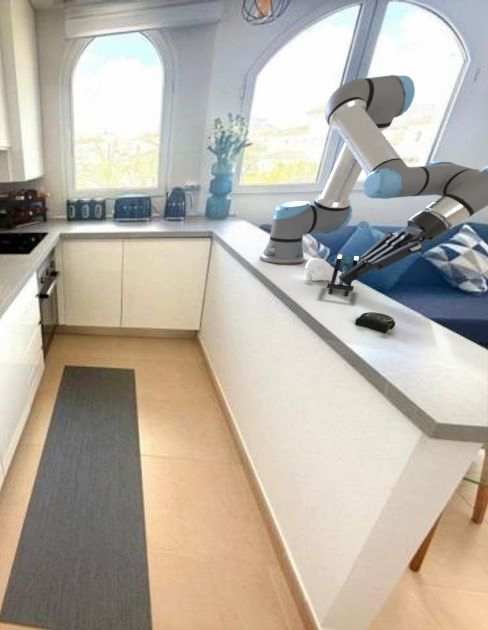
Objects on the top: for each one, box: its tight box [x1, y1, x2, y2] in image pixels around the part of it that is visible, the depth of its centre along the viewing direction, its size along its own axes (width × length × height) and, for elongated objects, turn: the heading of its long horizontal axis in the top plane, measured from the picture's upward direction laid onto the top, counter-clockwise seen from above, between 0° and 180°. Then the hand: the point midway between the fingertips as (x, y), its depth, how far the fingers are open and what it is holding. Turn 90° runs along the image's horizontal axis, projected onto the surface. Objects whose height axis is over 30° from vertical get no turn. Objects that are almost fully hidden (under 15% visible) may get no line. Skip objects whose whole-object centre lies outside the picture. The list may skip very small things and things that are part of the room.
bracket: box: [327, 254, 361, 297], centre depth 107 cm, size 11×8×13 cm
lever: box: [326, 256, 355, 292], centre depth 102 cm, size 13×6×2 cm, turn 141°
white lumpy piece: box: [304, 257, 342, 284], centre depth 118 cm, size 6×8×12 cm
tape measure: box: [354, 311, 396, 334], centre depth 88 cm, size 7×7×4 cm
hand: (342, 281), depth 98 cm, fingers closed
